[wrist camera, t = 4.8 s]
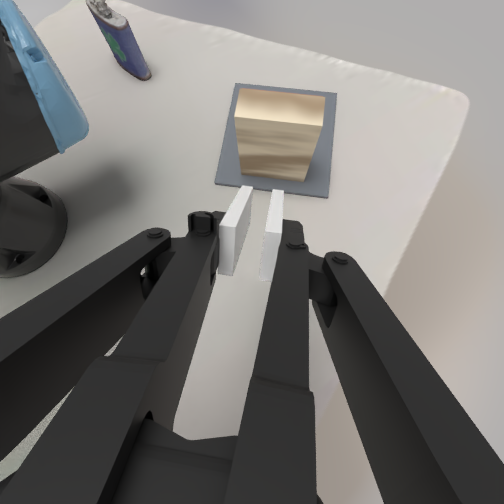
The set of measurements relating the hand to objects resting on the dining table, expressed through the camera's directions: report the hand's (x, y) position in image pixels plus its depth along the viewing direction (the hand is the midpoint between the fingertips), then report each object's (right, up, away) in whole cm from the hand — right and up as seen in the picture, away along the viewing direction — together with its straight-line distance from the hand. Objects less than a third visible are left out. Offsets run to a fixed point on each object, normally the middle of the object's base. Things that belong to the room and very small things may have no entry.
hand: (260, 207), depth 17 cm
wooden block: (+3, +11, +23) cm, 25 cm away
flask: (-23, +32, +30) cm, 49 cm away
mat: (+4, +16, +25) cm, 30 cm away
